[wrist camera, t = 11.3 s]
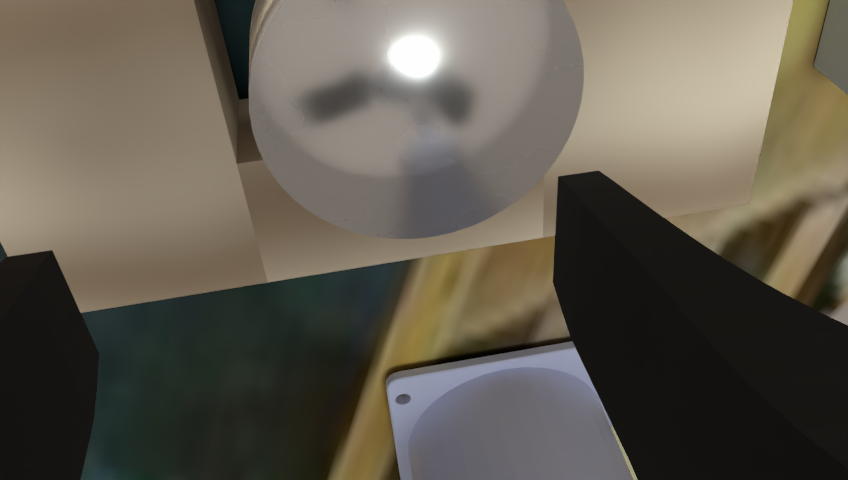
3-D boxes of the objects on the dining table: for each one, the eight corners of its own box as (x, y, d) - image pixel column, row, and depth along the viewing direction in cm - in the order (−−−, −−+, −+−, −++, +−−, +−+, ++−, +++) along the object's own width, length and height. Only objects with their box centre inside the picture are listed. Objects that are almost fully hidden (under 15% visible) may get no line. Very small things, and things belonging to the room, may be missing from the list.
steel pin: (477, 26, 20) (577, 213, 14) (275, 54, 20) (284, 261, 13) (468, -201, 17) (592, -91, 11) (228, -172, 16) (211, -41, 10)
